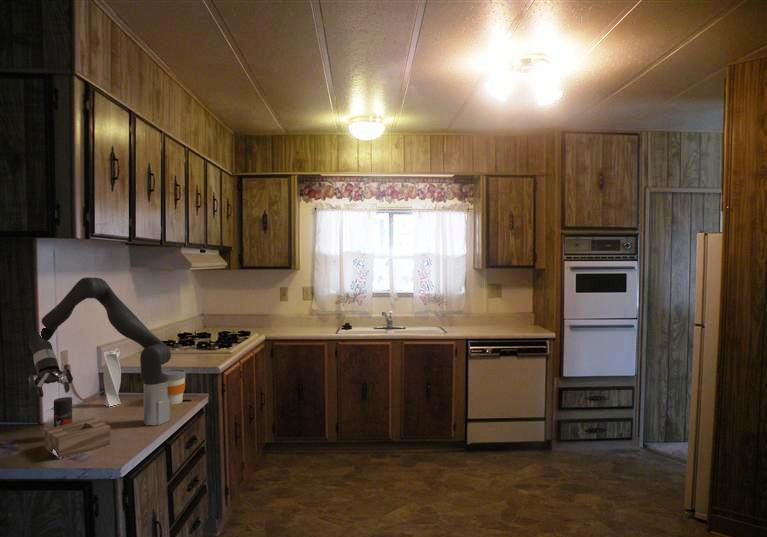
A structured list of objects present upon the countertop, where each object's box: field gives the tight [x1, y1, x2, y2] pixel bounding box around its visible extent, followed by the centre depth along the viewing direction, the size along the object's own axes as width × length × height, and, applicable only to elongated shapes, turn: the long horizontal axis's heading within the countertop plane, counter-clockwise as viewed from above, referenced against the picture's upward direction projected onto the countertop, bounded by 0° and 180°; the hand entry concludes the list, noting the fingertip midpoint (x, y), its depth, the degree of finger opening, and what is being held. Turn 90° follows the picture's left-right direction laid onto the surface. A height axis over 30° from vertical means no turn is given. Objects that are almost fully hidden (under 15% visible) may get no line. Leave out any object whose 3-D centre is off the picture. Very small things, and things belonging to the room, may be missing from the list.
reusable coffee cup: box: [162, 369, 187, 406], centre depth 219 cm, size 13×12×15 cm
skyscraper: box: [102, 347, 122, 408], centre depth 216 cm, size 8×8×28 cm
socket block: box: [44, 417, 111, 458], centre depth 164 cm, size 16×16×7 cm
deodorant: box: [53, 396, 73, 427], centre depth 173 cm, size 6×6×15 cm
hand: (55, 393), depth 179 cm, fingers open, 8 cm apart
